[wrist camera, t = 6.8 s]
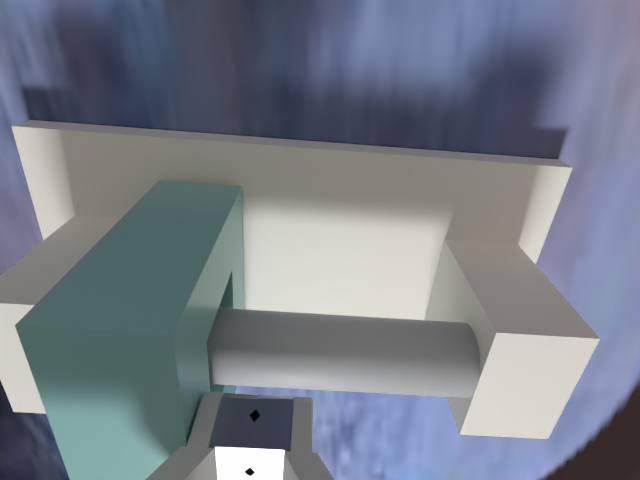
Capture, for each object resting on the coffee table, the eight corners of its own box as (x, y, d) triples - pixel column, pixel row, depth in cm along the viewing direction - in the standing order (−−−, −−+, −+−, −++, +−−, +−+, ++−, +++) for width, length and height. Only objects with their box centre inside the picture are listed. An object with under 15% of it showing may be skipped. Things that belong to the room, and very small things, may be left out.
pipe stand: (87, 344, 20) (-8, 477, 14) (29, 119, 15) (-156, 185, 9) (483, 367, 21) (546, 503, 15) (558, 159, 16) (699, 243, 10)
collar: (178, 346, 19) (93, 544, 12) (158, 180, 15) (14, 325, 8) (244, 350, 19) (199, 548, 12) (241, 186, 15) (172, 334, 8)
